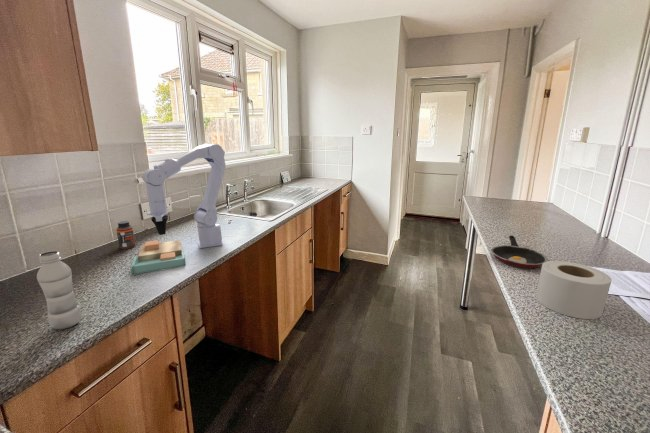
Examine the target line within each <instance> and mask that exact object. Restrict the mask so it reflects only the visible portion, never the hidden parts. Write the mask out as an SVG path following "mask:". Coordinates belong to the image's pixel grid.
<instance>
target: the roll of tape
mask: <svg viewBox="0 0 650 433" xmlns="http://www.w3.org/2000/svg"><path fill="white" fill-rule="evenodd" d="M611 283H612V278H611V277H610V275H608V274H607V273H605V272H604V271H602V270H599V269H597V268H594V267H591V266H590V265H589V266H588V265H584V264H581V263H577V262H576V263H575V262H571V261H564V260H548V261H547V262H544V263H543V264H542V265H541V270H540V274H539V279H538V284H537V287H536V288H537V289H536V293H535V298H536V301H538V303H540V304H541V305H542V306H544V307H545V308H547V309H548V310H551V311H552V312H555V313H557V314H559V315H560V314H561V315H564V316H568V317H570V318H575V319H580V320H595V319H596V320H597V319H598V318H601V317H602V316H603V312H604V310H605V305H606V303H607V298H608V296H609V292H610V287H611V285H612V284H611Z"/></svg>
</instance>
